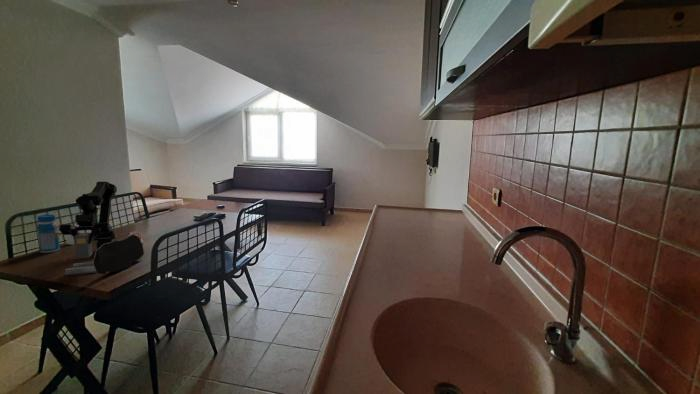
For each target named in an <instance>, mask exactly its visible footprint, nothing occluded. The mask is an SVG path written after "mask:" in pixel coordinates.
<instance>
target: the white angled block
mask: <svg viewBox="0 0 700 394" xmlns="http://www.w3.org/2000/svg"><path fill="white" fill-rule="evenodd" d="M78 233H81V232H80V231H78ZM66 241H67V245H71V246H72V245H75V242H74V238H73V236H72V235H66Z"/></svg>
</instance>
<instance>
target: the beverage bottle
mask: <svg viewBox="0 0 700 394" xmlns="http://www.w3.org/2000/svg"><path fill="white" fill-rule="evenodd" d="M37 222H38V225H37V227H36V230H37V232H36V235H37V239H38V249H39V250H38V251H39V253H42V254H43V253H44V254H47V253H53V252H57V251H59V250H60V249H61V246H60V237H59V236H60V235H59V232H60V230H59V226H58V225H57V223H56V216H55V214H53V213H52V214H49V213H48V214H40V215H38V216H37ZM51 236H52V237H51Z"/></svg>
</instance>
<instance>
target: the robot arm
mask: <svg viewBox="0 0 700 394" xmlns="http://www.w3.org/2000/svg"><path fill="white" fill-rule="evenodd" d="M117 191H118V189H117V186H116V185H115V184H114V183H110V182H108V181H97V182H96V185H95V186H94V187H93V188H92V191H91V192H87V193H82V195H81V196H78V197H76V199H75V203H76V205H77V207H78V209H80V211H82V212H81V214H76V215H75V217H74V219H75V220H74V222H75V223H76V225H77V226H76V225H72V224H71V223H69V224H68V223H67V224H66V223H64V224H60V225H59V226H58V231H59V232H60V233H61V234H62V235H63V236H67V235H72V236H73V238H74V242H75V237H74V236H75V235H77V234H78V231H79V232H80V231H82V232H83V231H90V233H91V234H90V237H89V241H88V243H89V244H90V243H91V242H93V241H94V242H96V250H97V249H98V248H100V247H101V246H102V245H103V244H104V243H110V242H112V240H113V241H114V240H115V239H116V234H115V232H114V230H113V227H112V226H111V224H110V217H111V208H112V207H111V206H112V200H113V199H114V198H115V197H116V193H117ZM97 206H98V207H99V206H100V207H99V208H100V209H99V208H98V207H97ZM98 210H99V211H98ZM98 213H99V218H98V223H96V222H97V214H98Z"/></svg>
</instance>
